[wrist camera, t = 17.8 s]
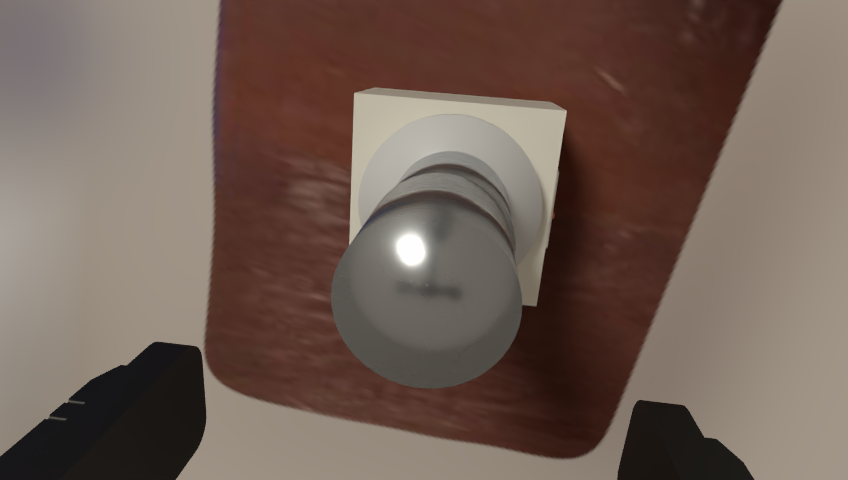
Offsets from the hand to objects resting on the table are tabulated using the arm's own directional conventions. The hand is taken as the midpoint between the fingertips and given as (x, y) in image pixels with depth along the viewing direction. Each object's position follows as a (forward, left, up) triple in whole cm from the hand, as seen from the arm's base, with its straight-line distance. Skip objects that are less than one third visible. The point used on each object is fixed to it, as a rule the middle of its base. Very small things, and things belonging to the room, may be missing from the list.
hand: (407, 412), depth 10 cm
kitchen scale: (0, 0, -20) cm, 20 cm away
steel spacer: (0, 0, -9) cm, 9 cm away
